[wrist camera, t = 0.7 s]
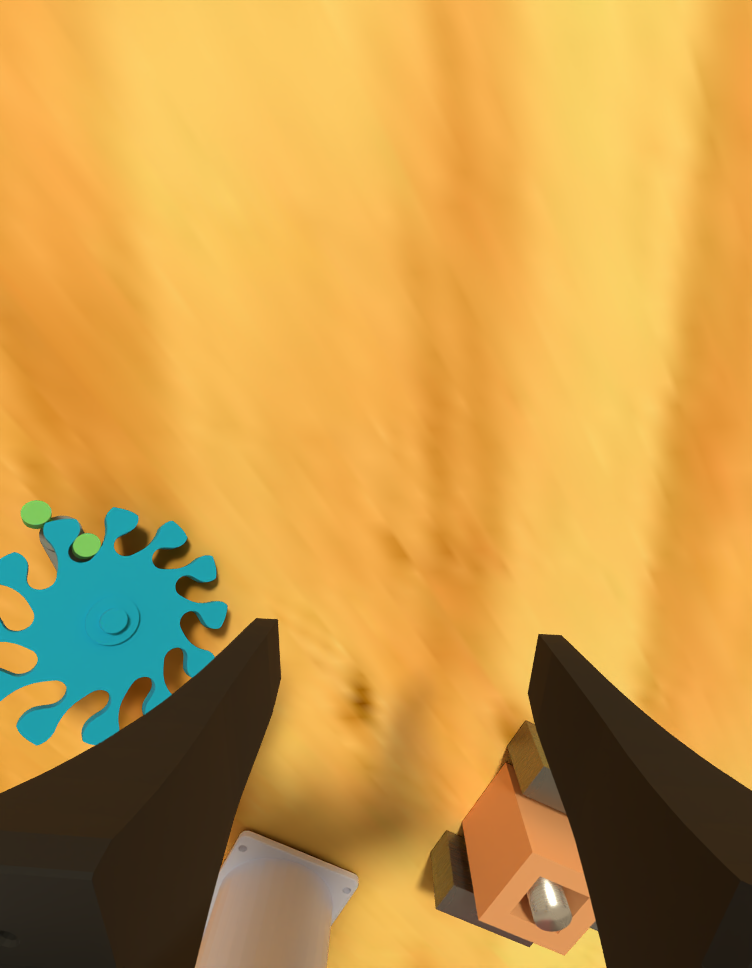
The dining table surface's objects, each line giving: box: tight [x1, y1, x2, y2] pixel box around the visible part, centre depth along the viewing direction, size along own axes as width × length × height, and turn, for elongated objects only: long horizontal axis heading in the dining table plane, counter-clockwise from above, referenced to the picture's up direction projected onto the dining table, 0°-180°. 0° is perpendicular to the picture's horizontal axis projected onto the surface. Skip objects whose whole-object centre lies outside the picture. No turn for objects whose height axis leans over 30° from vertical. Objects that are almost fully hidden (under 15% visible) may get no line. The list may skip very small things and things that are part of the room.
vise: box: [431, 721, 572, 947], centre depth 24 cm, size 13×6×6 cm, turn 153°
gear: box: [0, 500, 228, 745], centre depth 22 cm, size 11×6×10 cm
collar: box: [462, 762, 596, 955], centre depth 25 cm, size 5×5×5 cm
